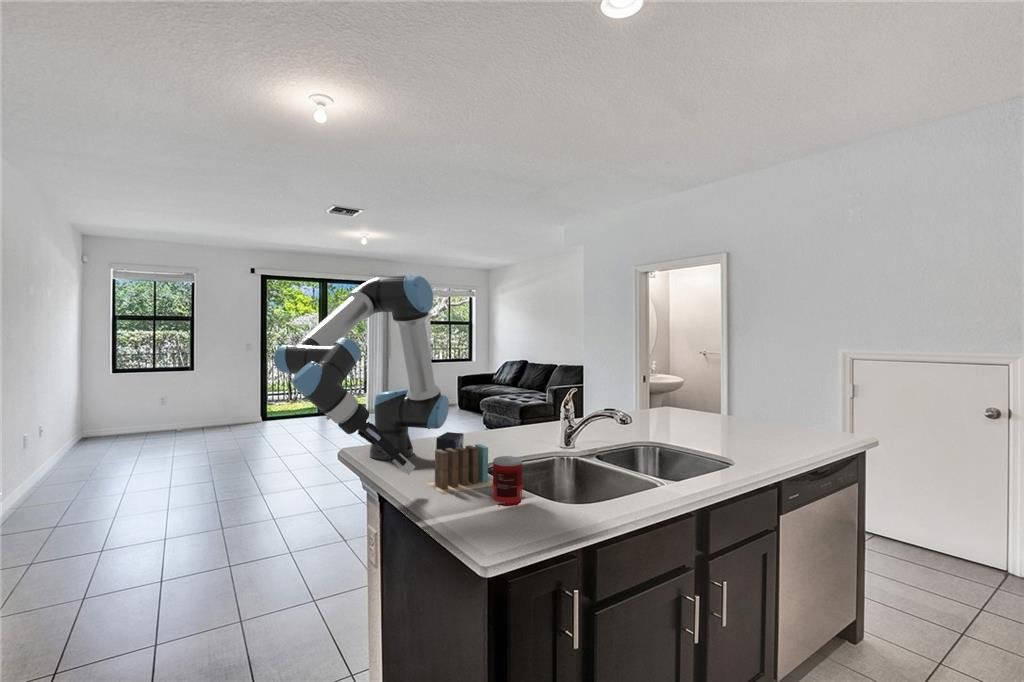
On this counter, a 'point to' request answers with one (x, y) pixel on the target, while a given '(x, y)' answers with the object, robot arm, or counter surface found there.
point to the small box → (449, 441)
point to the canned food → (507, 480)
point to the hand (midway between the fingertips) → (411, 470)
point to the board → (461, 487)
